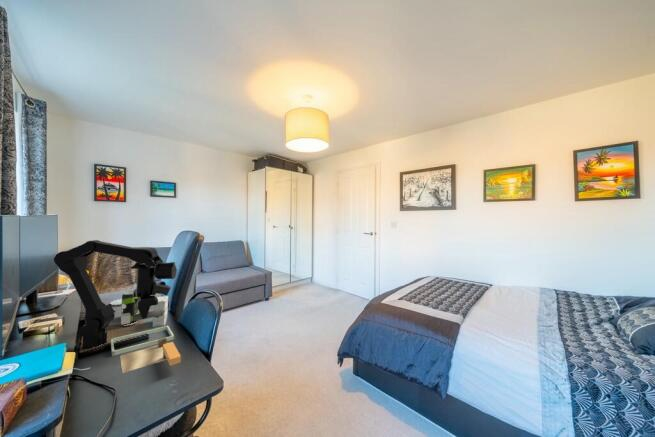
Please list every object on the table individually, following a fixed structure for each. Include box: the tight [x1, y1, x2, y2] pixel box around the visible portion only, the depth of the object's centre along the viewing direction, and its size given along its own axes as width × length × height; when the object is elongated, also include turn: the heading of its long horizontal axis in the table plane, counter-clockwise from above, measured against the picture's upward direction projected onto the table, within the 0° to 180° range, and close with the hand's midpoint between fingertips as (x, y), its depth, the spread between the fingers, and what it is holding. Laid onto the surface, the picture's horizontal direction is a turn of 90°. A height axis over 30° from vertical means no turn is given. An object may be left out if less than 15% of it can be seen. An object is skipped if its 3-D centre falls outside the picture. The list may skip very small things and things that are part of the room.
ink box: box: [152, 295, 169, 328], centre depth 117 cm, size 8×5×12 cm, turn 25°
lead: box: [120, 310, 164, 326], centre depth 98 cm, size 14×3×3 cm, turn 133°
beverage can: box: [120, 290, 139, 325], centre depth 114 cm, size 6×6×15 cm
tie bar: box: [163, 341, 182, 366], centre depth 83 cm, size 3×12×2 cm, turn 43°
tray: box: [110, 325, 175, 357], centre depth 98 cm, size 19×12×2 cm, turn 133°
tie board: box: [119, 337, 172, 374], centre depth 88 cm, size 16×13×4 cm
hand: (143, 317), depth 98 cm, fingers closed on lead, 2 cm apart
